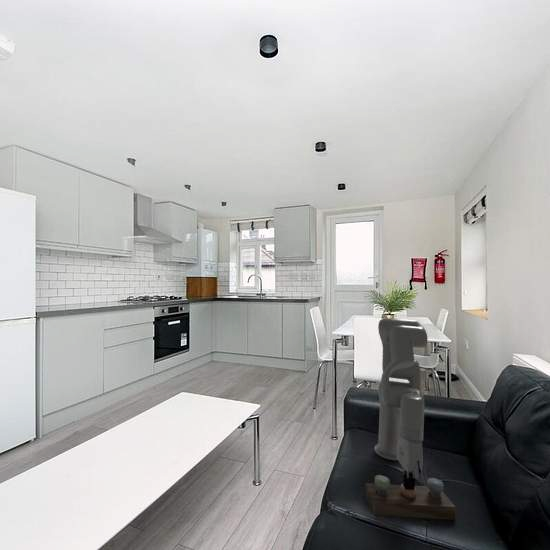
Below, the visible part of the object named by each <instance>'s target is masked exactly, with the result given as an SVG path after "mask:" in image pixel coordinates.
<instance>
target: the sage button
mask: <svg viewBox="0 0 550 550" xmlns="http://www.w3.org/2000/svg"><path fill="white" fill-rule="evenodd" d="M374 484H375V486H376V487H377V494H378V496H382V497H387V490H388V489H389V488H390V485H391V481H390V478H388V477H387V476H385V475H381V474H378V475H375V476H374Z"/></svg>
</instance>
